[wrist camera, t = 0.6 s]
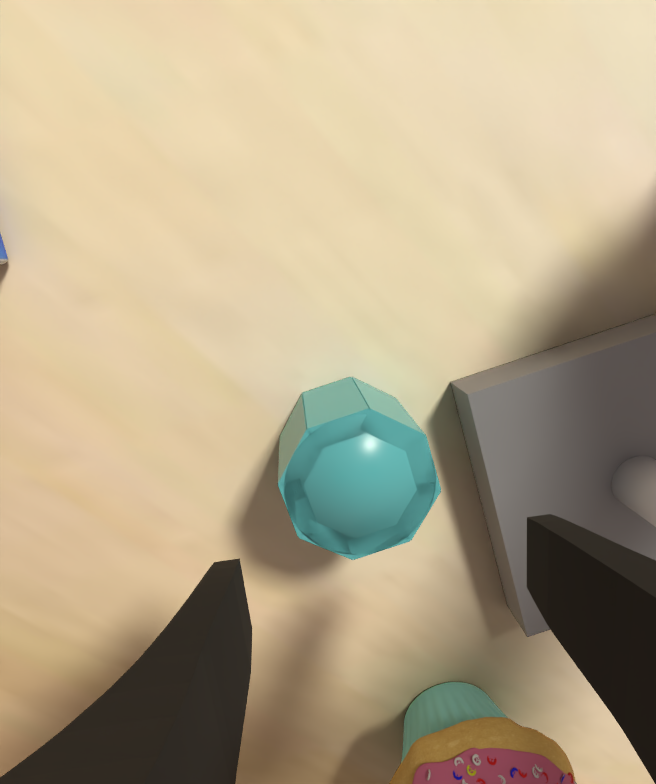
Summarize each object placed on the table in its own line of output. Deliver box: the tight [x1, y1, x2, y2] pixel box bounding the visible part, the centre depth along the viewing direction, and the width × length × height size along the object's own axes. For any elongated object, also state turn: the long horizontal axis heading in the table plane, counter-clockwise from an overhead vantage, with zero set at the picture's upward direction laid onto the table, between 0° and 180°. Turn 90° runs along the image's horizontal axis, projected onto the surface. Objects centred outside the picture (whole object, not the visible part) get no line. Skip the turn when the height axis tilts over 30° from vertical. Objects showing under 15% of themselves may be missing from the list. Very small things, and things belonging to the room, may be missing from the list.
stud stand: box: [451, 314, 656, 637], centre depth 19 cm, size 12×12×6 cm
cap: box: [278, 377, 441, 560], centre depth 18 cm, size 5×5×4 cm
